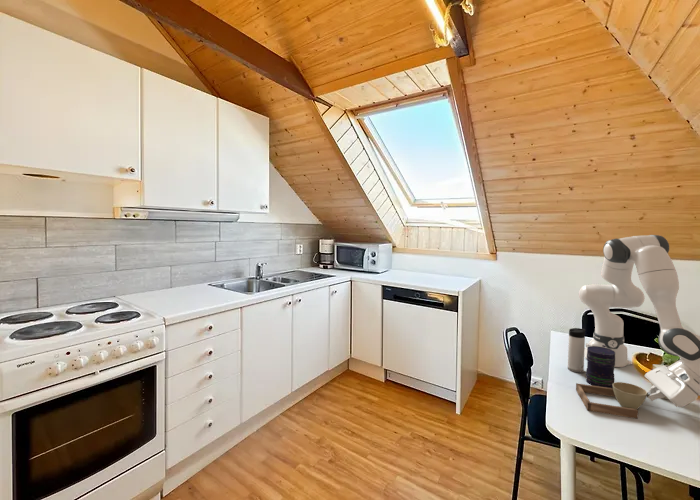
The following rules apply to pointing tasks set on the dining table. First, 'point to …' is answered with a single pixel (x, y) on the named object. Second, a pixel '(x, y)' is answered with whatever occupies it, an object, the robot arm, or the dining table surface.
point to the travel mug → (576, 350)
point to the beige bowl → (629, 395)
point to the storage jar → (600, 366)
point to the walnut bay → (603, 407)
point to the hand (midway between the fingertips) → (647, 397)
